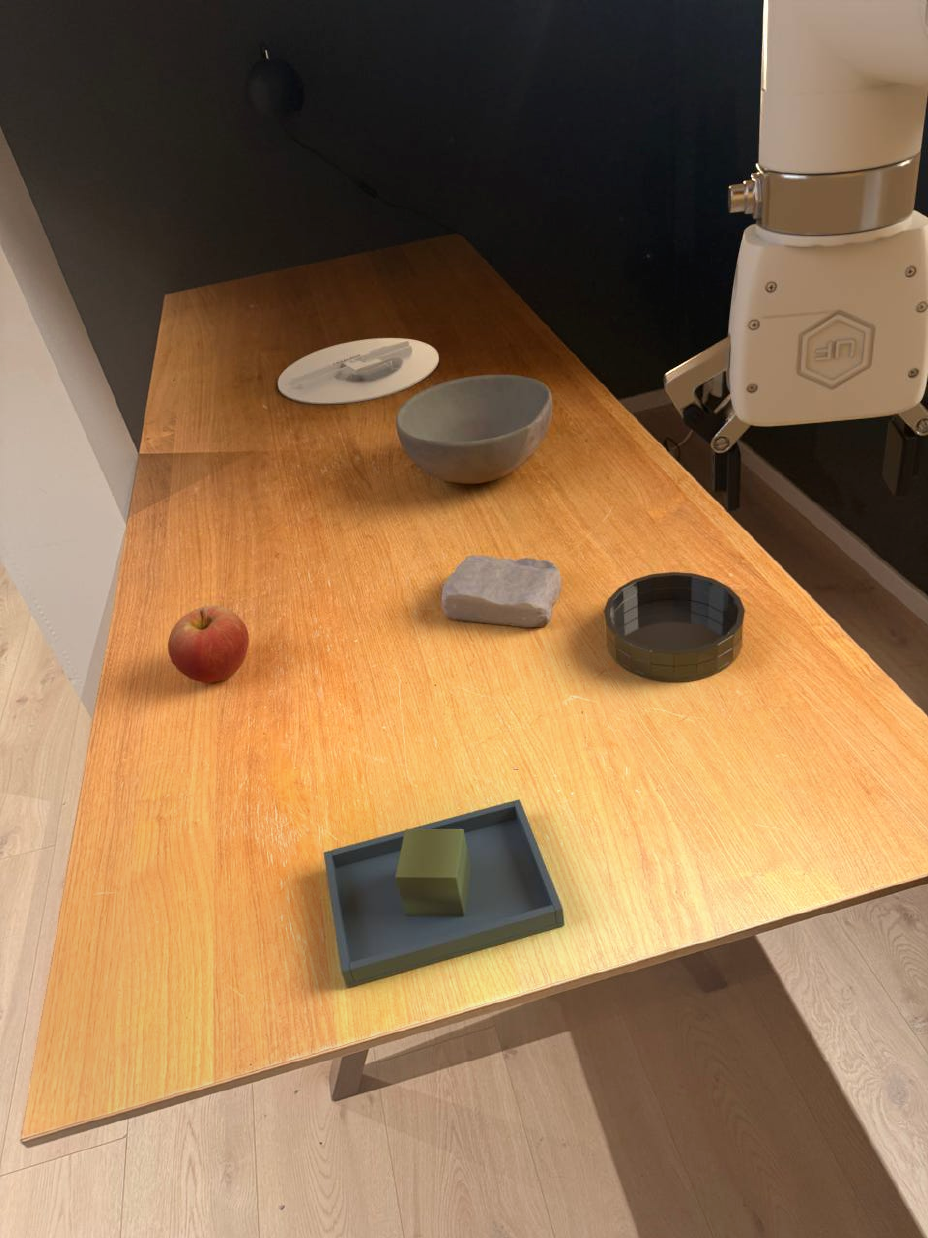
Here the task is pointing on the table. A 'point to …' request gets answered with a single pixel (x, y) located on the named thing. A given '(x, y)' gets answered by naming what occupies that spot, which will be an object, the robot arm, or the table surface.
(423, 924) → the tray
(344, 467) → the table surface
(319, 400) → the plate
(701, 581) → the pan
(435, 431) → the bowl
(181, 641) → the apple
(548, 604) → the stone block
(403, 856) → the block
